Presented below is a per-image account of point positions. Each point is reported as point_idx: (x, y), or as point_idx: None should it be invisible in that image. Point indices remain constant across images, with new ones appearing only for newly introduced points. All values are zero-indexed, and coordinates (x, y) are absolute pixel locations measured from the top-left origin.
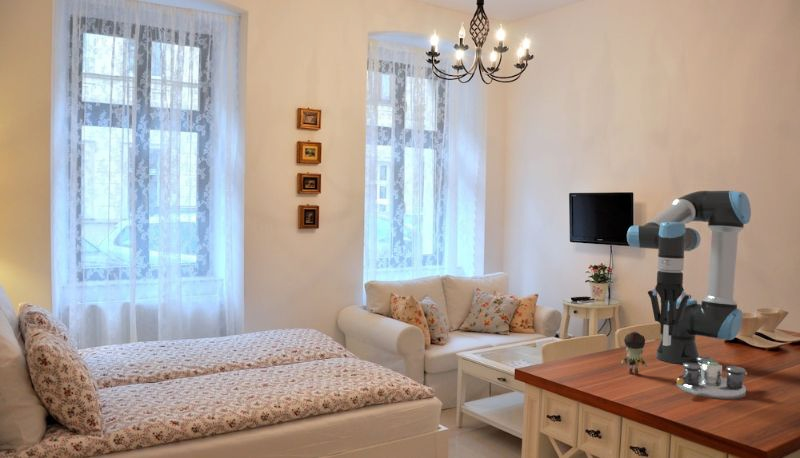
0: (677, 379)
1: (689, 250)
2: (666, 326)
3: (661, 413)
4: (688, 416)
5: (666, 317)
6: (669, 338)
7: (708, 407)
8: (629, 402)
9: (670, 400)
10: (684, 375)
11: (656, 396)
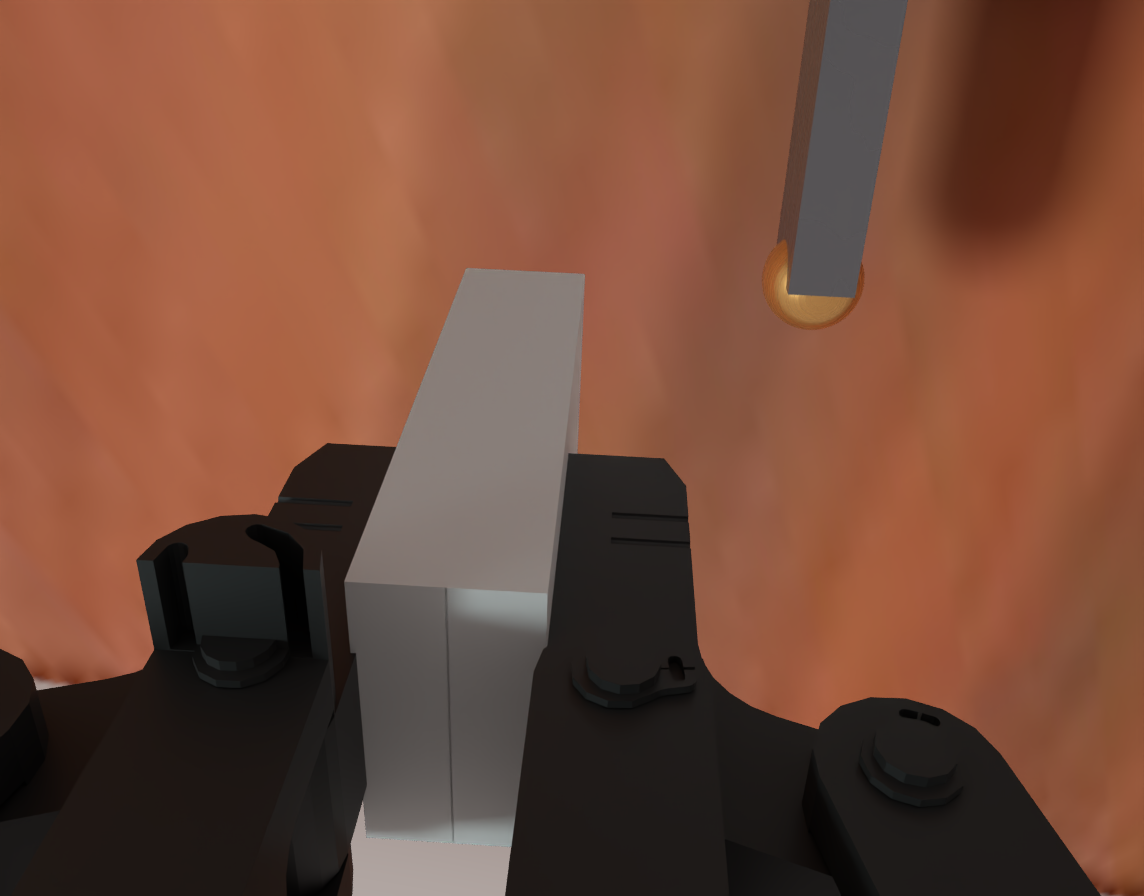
0: (785, 319)
1: None
2: (478, 805)
3: None
4: (978, 705)
5: (274, 893)
6: (572, 448)
7: (1125, 369)
8: None
9: (742, 410)
10: (848, 144)
11: (585, 381)
